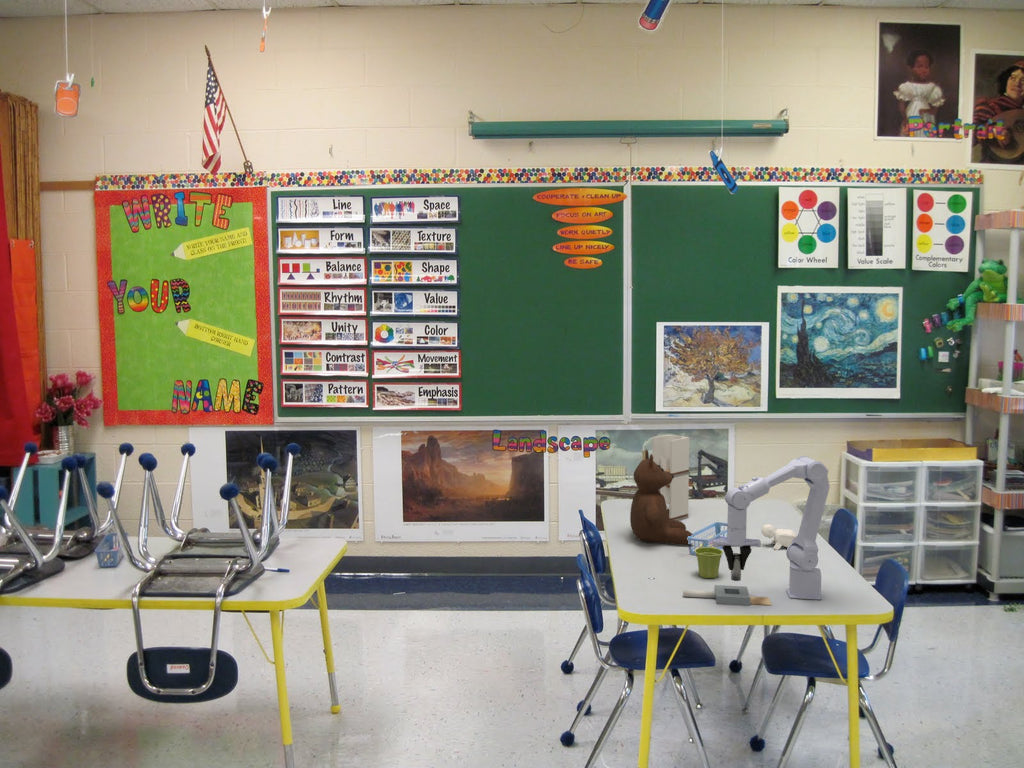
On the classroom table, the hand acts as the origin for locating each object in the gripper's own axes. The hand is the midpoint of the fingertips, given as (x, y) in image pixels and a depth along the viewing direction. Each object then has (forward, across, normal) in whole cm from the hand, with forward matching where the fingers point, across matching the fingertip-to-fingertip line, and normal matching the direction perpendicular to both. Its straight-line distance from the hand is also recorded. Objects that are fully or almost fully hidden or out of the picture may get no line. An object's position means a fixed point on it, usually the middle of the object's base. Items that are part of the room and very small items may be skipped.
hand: (736, 569), depth 263 cm
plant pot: (+10, +4, -22) cm, 24 cm away
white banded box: (+10, +4, -95) cm, 96 cm away
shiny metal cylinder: (+3, 0, 0) cm, 3 cm away
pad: (+10, -7, +2) cm, 12 cm away
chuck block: (+10, +6, -1) cm, 12 cm away
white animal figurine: (+10, -31, -54) cm, 63 cm away
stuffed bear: (+10, +13, -63) cm, 65 cm away
